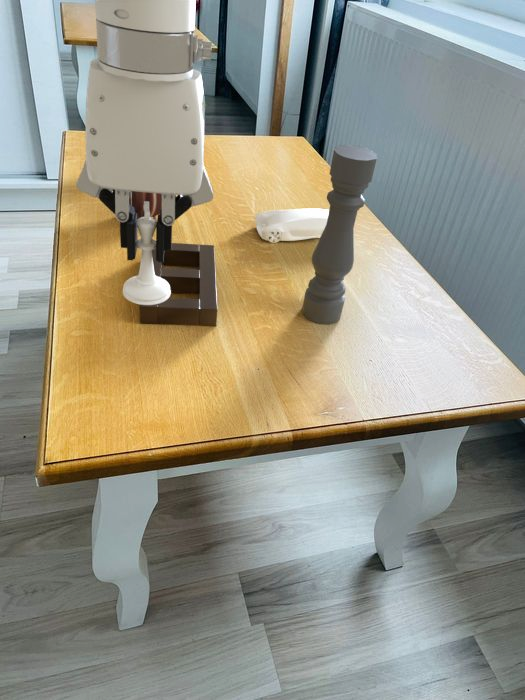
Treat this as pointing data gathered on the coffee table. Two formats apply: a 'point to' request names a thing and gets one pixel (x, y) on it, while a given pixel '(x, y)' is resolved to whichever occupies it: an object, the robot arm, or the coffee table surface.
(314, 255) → the candle holder
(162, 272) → the socket block
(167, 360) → the coffee table surface
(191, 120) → the robot arm
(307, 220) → the toy car
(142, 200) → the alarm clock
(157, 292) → the chess piece
